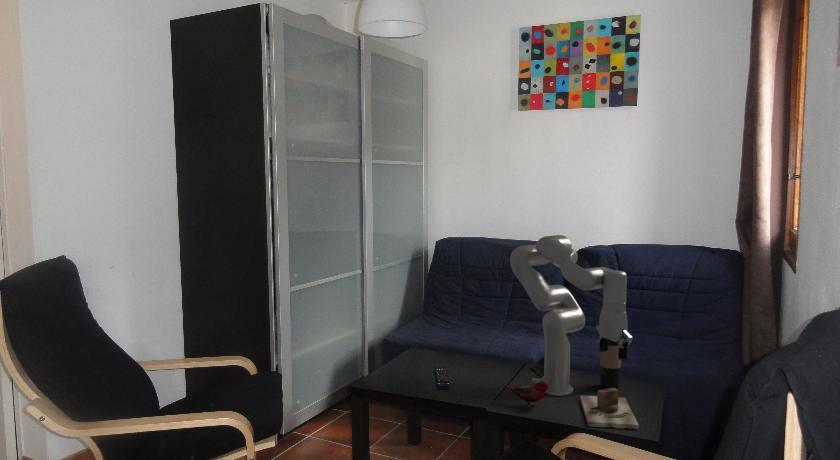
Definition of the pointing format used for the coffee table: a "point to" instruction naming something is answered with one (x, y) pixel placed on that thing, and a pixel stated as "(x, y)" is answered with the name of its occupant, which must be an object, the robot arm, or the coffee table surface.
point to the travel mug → (610, 366)
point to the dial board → (608, 414)
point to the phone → (538, 370)
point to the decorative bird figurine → (531, 392)
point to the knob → (607, 400)
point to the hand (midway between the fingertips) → (612, 355)
